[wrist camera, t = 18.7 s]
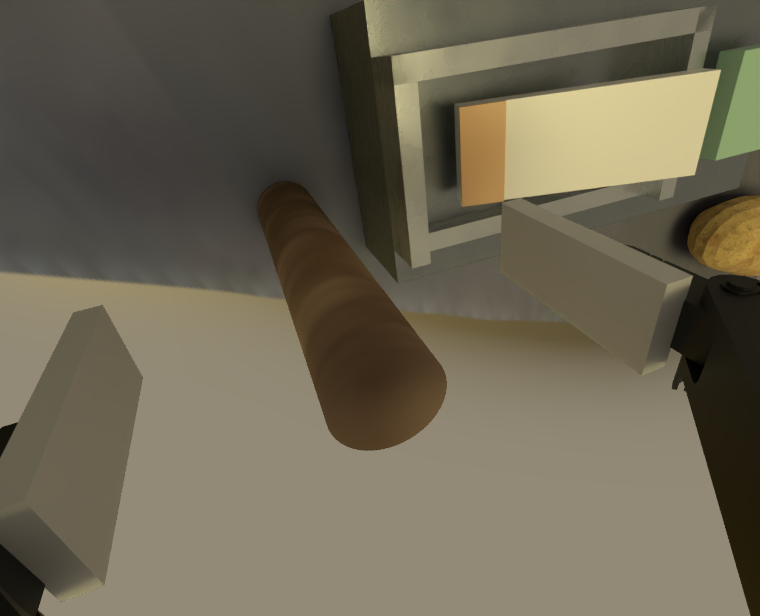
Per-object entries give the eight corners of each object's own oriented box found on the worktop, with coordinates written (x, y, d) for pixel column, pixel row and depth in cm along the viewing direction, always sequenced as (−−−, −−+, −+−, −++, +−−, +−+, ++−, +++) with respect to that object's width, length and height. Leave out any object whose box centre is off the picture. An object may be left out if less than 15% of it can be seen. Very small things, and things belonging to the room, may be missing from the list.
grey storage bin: (366, 246, 29) (415, 303, 22) (330, 15, 22) (384, -9, 15) (662, 170, 34) (778, 196, 27) (706, -35, 28) (874, -70, 21)
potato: (735, 258, 43) (807, 284, 38) (653, 261, 39) (720, 290, 34) (769, 190, 40) (853, 208, 35) (684, 186, 36) (764, 205, 31)
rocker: (457, 197, 22) (462, 206, 21) (454, 103, 20) (459, 107, 18) (679, 168, 21) (697, 176, 20) (702, 68, 19) (724, 70, 18)
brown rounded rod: (266, 242, 27) (338, 466, 12) (250, 188, 25) (312, 373, 10) (319, 229, 27) (449, 425, 13) (307, 176, 26) (443, 331, 11)
